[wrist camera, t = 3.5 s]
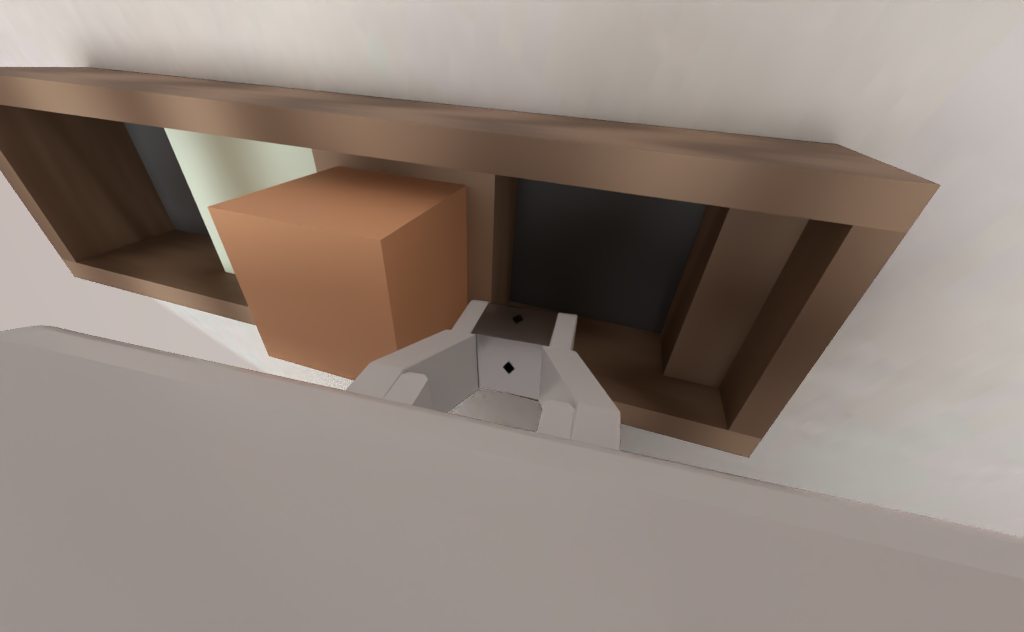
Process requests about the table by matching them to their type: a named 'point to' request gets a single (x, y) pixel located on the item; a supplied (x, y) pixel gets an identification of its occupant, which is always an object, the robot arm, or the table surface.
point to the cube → (348, 264)
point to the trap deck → (491, 221)
